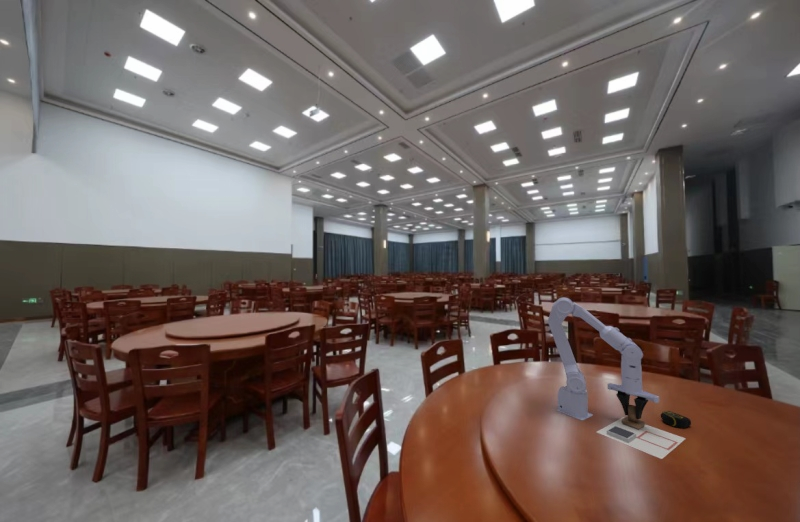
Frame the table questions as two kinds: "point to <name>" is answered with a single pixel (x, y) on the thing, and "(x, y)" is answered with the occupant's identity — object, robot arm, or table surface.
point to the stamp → (632, 419)
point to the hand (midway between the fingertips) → (632, 416)
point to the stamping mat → (643, 438)
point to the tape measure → (675, 419)
